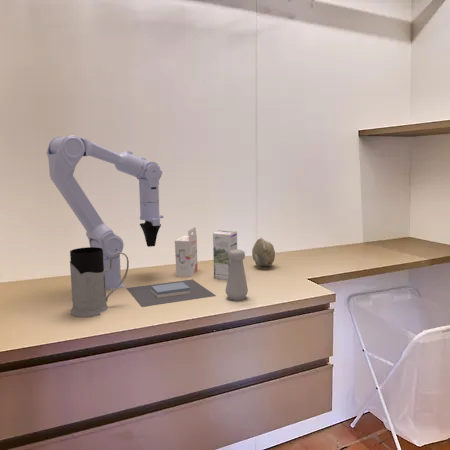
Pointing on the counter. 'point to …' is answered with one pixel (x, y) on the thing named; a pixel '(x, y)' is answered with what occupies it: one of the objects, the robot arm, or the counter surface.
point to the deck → (170, 289)
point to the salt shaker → (236, 276)
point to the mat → (149, 299)
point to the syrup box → (223, 252)
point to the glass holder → (89, 281)
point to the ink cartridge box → (186, 254)
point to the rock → (263, 253)
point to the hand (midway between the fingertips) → (151, 246)
